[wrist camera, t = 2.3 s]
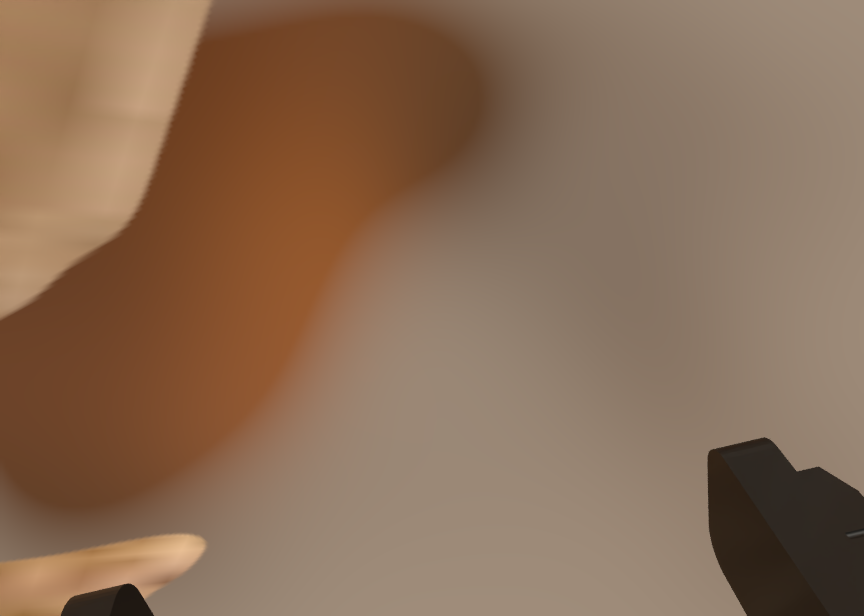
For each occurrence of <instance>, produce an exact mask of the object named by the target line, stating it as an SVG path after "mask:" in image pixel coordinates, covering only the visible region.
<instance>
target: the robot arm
mask: <svg viewBox="0 0 864 616" xmlns="http://www.w3.org/2000/svg"><path fill="white" fill-rule="evenodd" d="M708 504H709V505H708V509H709V532H710V537H711V541H712V545H713V549H714V552H715V555H716V558H717V560H718V563H719V565H720V567H721V569H722V571H723V573H724V575H725V577H726V579H727V581H728V582H729V584H730V586H731V588H732V590H733V591H734V593H735V595H736V597H737V598H738V600H739V602H740V604H741V605H742V607H743V609H744V611H745V613H746V614H747V616H864V497H863V496H862V495H861V494H860V493H859V491H858V490H856V489H855V488H853V487H851V486H850V485H848V484H846V483H844V482H843V481H841V480H840V479H838V478H837V477H835V476H833V475H832V474H830V473H828V472H827V471H825V470H823V469H822V468H820V467H815V468H811V469H806V470H802V471H798V472H797V471H796V470H795V469H794V468H793V466H792V465H791V464H790V462H789V461H788V460H787V459H786V457H784V455H783V454H782V453H781V451H780V450H779V449H778V447H777V446H776V445H775V444H774V443H773V442H772V441H771V440H770V439H767V438H765V437H764V438H760V439H755V440H751V441H747V442H742V443H738V444H734V445H730V446H725V447H721V448H717V449H713V450H710V451H709V454H708ZM61 616H154V615H153V613H152V612H151V610H150V608H149V607H148V605H147V603H146V602H145V600H144V598H143V597H142V595H141V593H140V592H139V590H138V589H137V588H136V587H135V586H134V585H132V584H124V585H119V586H115V587H111V588H107V589H102V590H98V591H94V592H89V593H85V594H81V595H77V596H74V597H72V598H71V599H70V600H69V601H68V602H67V603H66V605H65V607H64V609H63V611H62V614H61Z"/></svg>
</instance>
